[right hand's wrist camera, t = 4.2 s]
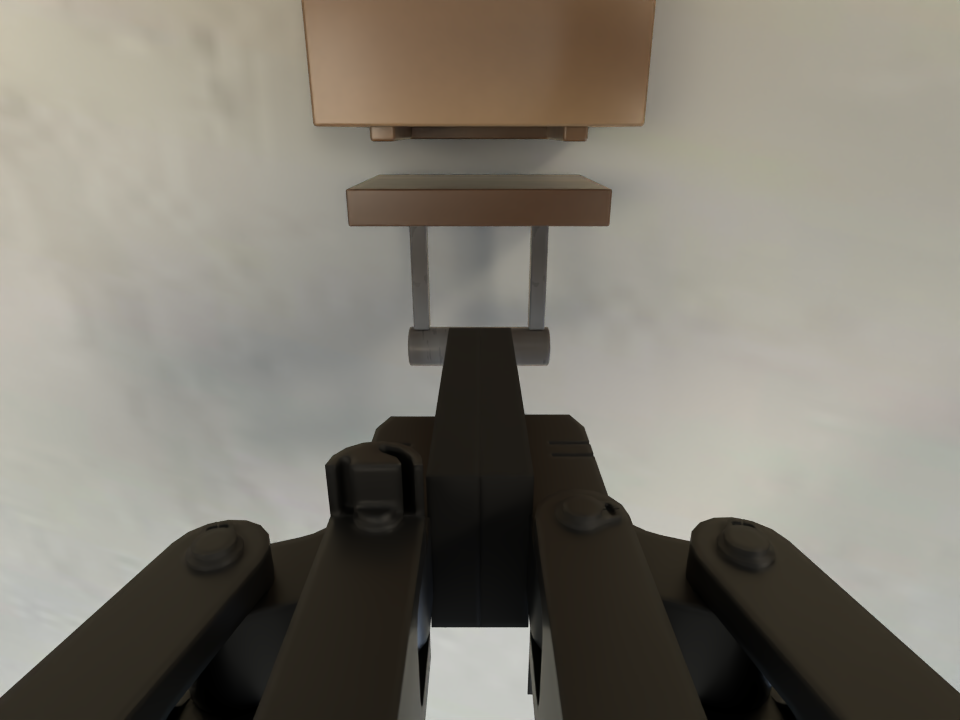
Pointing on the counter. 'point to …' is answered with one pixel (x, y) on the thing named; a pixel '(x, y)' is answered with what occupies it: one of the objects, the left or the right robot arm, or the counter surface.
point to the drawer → (479, 222)
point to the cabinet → (478, 62)
